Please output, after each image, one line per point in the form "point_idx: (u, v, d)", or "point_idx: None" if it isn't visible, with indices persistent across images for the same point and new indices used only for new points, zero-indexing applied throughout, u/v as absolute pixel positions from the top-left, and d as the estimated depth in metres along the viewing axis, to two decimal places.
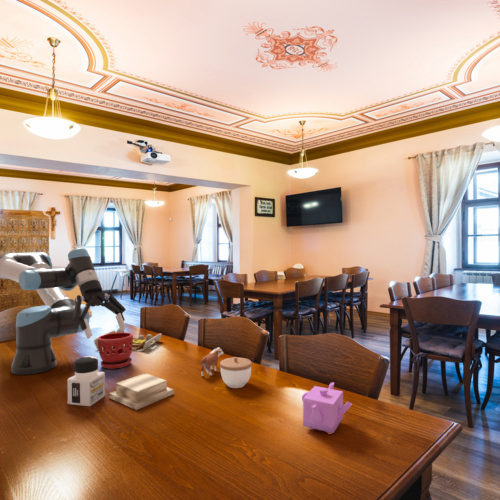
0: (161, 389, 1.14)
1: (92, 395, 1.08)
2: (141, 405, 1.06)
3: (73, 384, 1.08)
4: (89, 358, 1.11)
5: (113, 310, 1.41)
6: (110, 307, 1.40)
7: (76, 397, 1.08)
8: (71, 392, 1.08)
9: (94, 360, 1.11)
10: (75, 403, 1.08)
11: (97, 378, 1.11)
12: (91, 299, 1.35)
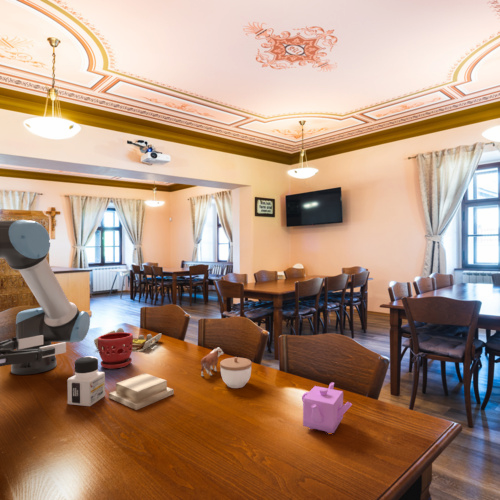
0: (161, 389, 1.14)
1: (92, 395, 1.08)
2: (141, 405, 1.06)
3: (73, 384, 1.08)
4: (89, 358, 1.11)
5: None
6: None
7: (76, 397, 1.08)
8: (71, 392, 1.08)
9: (94, 360, 1.11)
10: (75, 403, 1.08)
11: (97, 378, 1.11)
12: None
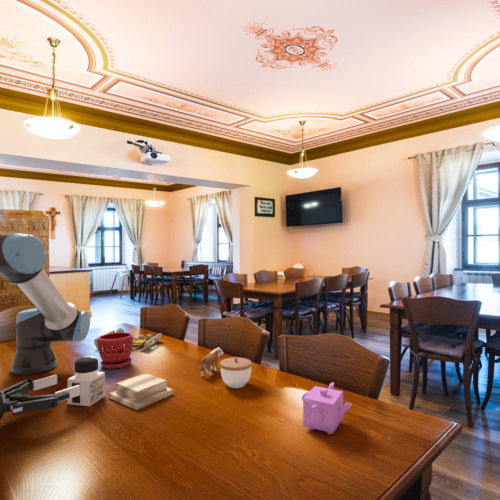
0: (161, 389, 1.14)
1: (92, 395, 1.08)
2: (141, 405, 1.06)
3: (73, 384, 1.08)
4: (89, 358, 1.11)
5: None
6: None
7: (76, 397, 1.08)
8: None
9: (94, 360, 1.11)
10: (75, 403, 1.08)
11: (97, 378, 1.11)
12: None
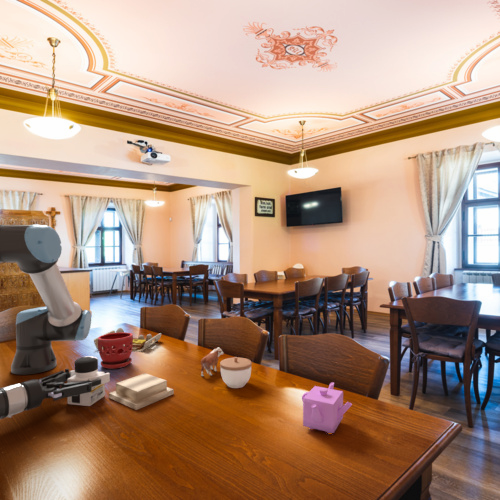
0: (161, 389, 1.14)
1: (92, 395, 1.08)
2: (141, 405, 1.06)
3: None
4: (89, 358, 1.11)
5: None
6: None
7: (76, 397, 1.08)
8: None
9: (94, 360, 1.11)
10: (75, 403, 1.08)
11: None
12: None
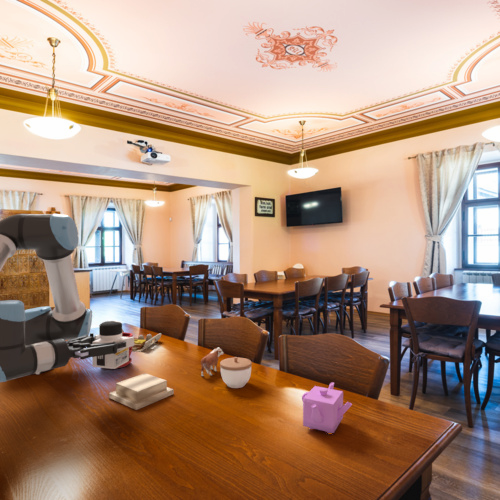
0: (161, 389, 1.14)
1: (117, 358, 1.08)
2: (141, 405, 1.06)
3: None
4: (113, 322, 1.11)
5: None
6: None
7: (101, 360, 1.08)
8: None
9: (118, 324, 1.10)
10: (100, 366, 1.08)
11: None
12: None
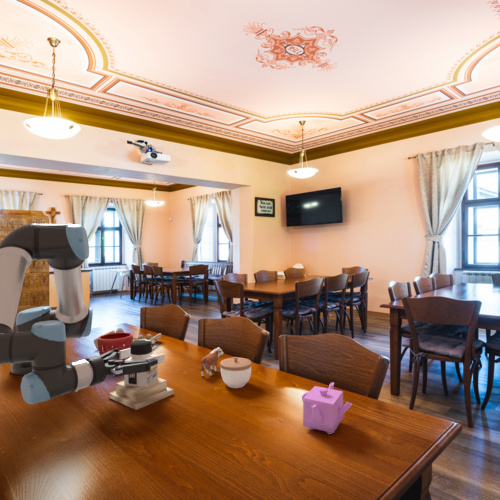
0: (161, 389, 1.14)
1: (148, 376, 1.11)
2: (141, 405, 1.06)
3: None
4: (144, 341, 1.14)
5: None
6: None
7: (133, 378, 1.11)
8: None
9: (149, 343, 1.13)
10: (132, 384, 1.11)
11: None
12: None
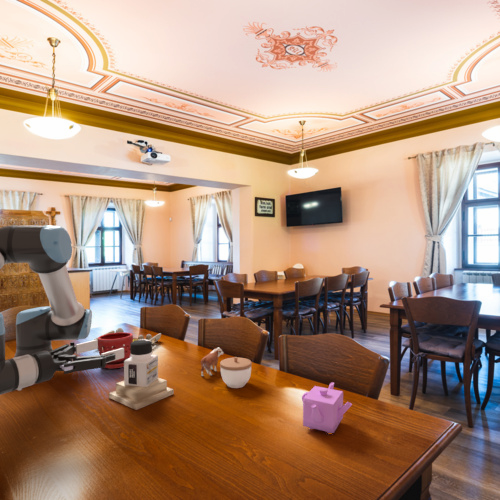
0: (161, 389, 1.14)
1: (148, 376, 1.11)
2: (141, 405, 1.06)
3: (130, 366, 1.11)
4: (144, 341, 1.14)
5: None
6: None
7: (133, 378, 1.11)
8: (128, 373, 1.11)
9: (149, 343, 1.13)
10: (132, 384, 1.11)
11: (152, 360, 1.13)
12: None
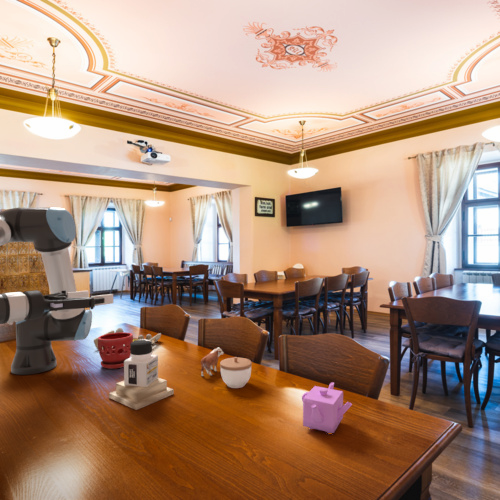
0: (161, 389, 1.14)
1: (148, 376, 1.11)
2: (141, 405, 1.06)
3: (130, 366, 1.11)
4: (144, 341, 1.14)
5: None
6: None
7: (133, 378, 1.11)
8: (128, 373, 1.11)
9: (149, 343, 1.13)
10: (132, 384, 1.11)
11: (152, 360, 1.13)
12: None
